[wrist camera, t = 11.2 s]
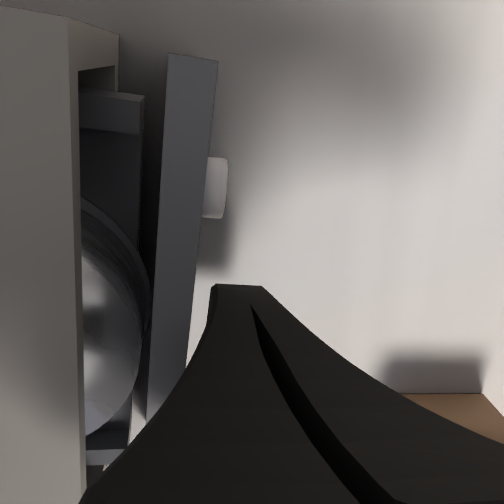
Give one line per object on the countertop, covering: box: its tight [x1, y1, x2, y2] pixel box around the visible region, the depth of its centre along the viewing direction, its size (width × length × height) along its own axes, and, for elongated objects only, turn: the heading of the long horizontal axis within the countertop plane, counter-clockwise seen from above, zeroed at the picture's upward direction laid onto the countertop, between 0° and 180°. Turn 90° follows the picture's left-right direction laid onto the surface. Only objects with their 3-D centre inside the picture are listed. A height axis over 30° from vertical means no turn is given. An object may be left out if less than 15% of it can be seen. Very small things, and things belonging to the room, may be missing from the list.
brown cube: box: [401, 394, 504, 444], centre depth 15 cm, size 4×4×4 cm
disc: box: [81, 209, 146, 436], centre depth 9 cm, size 6×6×2 cm
